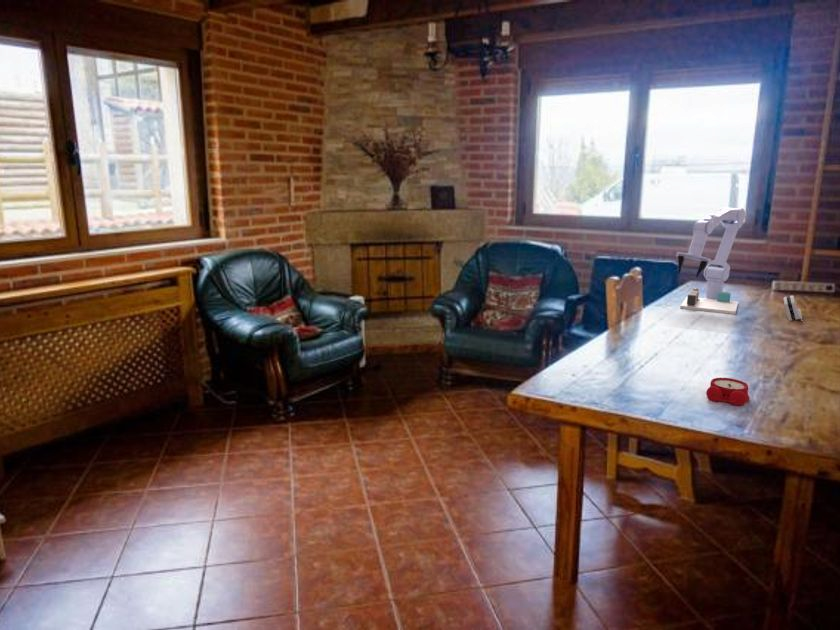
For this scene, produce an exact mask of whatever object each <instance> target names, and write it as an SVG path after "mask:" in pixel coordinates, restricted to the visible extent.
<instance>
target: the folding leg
mask: <svg viewBox="0 0 840 630" xmlns="http://www.w3.org/2000/svg"><path fill="white" fill-rule="evenodd" d="M699 294H700V291H699V288H695V287H694V288H693V289H691V291H690V293H688V295H687V297H688V298H687V305H695V303H696V302H697V300H698V298H699Z"/></svg>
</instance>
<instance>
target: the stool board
mask: <svg viewBox="0 0 840 630" xmlns="http://www.w3.org/2000/svg"><path fill="white" fill-rule="evenodd" d="M731 295H732V293H731V292H728V291H727V292H726V291H723V292H719V293H718V300H716V299H706V298H704V297H698V300H697V302H696V303H695V305H687V298H688V296H686V297H685V298H684V300H683V301H682V303H681V304H680V307H679V308H680V309H682V308H685V310H692V309H693V310H694V311H701V310H702V311H703V312H711V313H720V314H721V313H722V314H728V313H730V314H729V315H736V312H737V309H738V306H739V301H735V300H731ZM693 310H692V311H693Z"/></svg>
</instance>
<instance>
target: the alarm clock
mask: <svg viewBox="0 0 840 630" xmlns="http://www.w3.org/2000/svg"><path fill="white" fill-rule="evenodd" d="M706 398H707V399H708V400H709V401H711V402H715V403H716V402H717V403H719V402H722V403H726V404H727V403H729V404H731V405H732V406H736V407H741V406H743V405H745V404H746V403H748V402H749V401H750V396H749V385H748V383H747V382H745V381H743V380H739V379H735V378H729V377H716V378H712V379H711V381H710V384H709V387H708V388H707V390H706Z"/></svg>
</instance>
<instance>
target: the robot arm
mask: <svg viewBox="0 0 840 630" xmlns="http://www.w3.org/2000/svg"><path fill="white" fill-rule="evenodd" d="M745 218H746V210H745V209H744V208H743V207H740V208H738V207H737V208H736V207H725V206H724V207H722V208H720V209H719V212H718V213H716V214H713V213H711V214H709V216H707V217H705V218H703V220H697V221H696V222H695V223H694V224H693V232H692V236H693V237H692V239H691V243H690V246H689V247H688V252H681V251H677V252H676V255H675V257H677V261H678V270H677V273H678V274H680V273H681V271H682V267H683V264H684V262H685V259H688V260H692V261H696V262H700V264H699V266H698V270H697V272H696V274H695V278H699V276H700V274H701V272H702V271H703V276H704V278H705V280H706V288H705V295H704V297H703V298H706V299H716V300H718V293H719V292H724V283H725V282H726V281H727V280H728V278H729V277H730V271H731V266H730V265H729V263H727V261H728V258H729V255H730V253H731V250H732V248H733V244H734V242H735V239H736V236H737V233H738V230H739V229H741V228H742V226H743V223H744V221H745V220H746V219H745ZM720 224H721V226H722V227H724V228H725V231H724V233H723V236H722V239H721V242H720V244H719V247H718V249H717V253H716V255H715V258H714V259H712V258H708V257H705V256H702V255H703V252H704V248H705V245H706V242H707V240H708V239H707V238H708V236H709V235H710V234H712V232H713V231H714V230H715V229H716V228H717V227H718V226H719V225H720Z"/></svg>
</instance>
